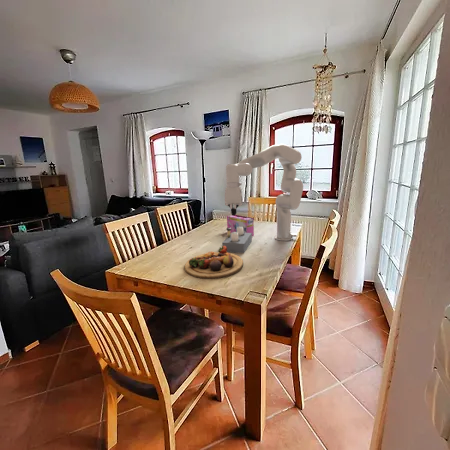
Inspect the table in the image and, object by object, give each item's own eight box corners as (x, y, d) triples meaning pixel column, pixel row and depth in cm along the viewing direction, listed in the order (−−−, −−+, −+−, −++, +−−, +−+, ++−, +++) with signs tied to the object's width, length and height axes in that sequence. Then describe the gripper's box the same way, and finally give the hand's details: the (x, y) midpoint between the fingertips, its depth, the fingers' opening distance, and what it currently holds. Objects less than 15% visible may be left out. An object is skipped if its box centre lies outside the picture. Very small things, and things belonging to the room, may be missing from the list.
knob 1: (239, 242, 159) (238, 232, 157) (237, 244, 155) (237, 233, 153) (232, 241, 160) (232, 231, 159) (230, 243, 156) (230, 233, 155)
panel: (251, 241, 174) (251, 232, 173) (244, 253, 152) (243, 243, 150) (232, 240, 178) (232, 232, 177) (222, 251, 156) (222, 242, 155)
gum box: (225, 231, 201) (225, 215, 198) (233, 229, 206) (232, 213, 203) (247, 237, 183) (246, 219, 180) (254, 235, 188) (254, 217, 185)
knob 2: (244, 235, 172) (243, 226, 170) (242, 237, 168) (242, 228, 166) (238, 235, 173) (237, 226, 172) (236, 237, 169) (236, 227, 167)
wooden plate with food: (212, 252, 157) (211, 239, 155) (254, 262, 137) (254, 248, 135) (172, 270, 133) (170, 256, 131) (216, 286, 113) (215, 270, 111)
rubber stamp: (231, 236, 166) (231, 227, 165) (230, 237, 164) (230, 228, 162) (227, 236, 167) (227, 227, 166) (226, 237, 164) (225, 228, 163)
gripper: (246, 184, 150) (247, 214, 154) (223, 184, 154) (224, 213, 159) (243, 185, 143) (244, 216, 147) (219, 185, 147) (220, 215, 152)
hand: (233, 214), depth 153 cm, fingers closed
